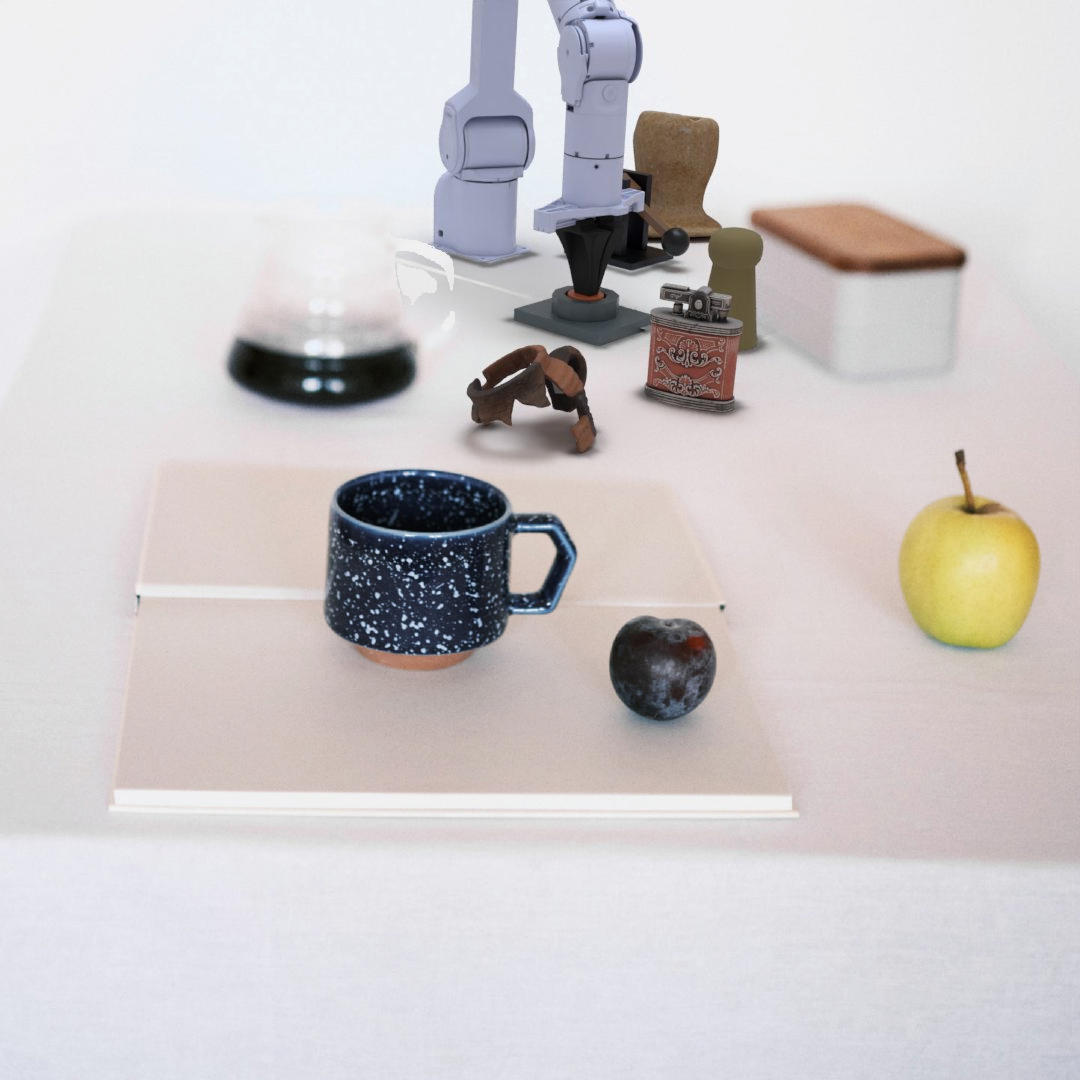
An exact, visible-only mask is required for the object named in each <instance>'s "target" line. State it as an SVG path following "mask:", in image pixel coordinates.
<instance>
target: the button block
mask: <svg viewBox="0 0 1080 1080" xmlns="http://www.w3.org/2000/svg"><path fill="white" fill-rule="evenodd" d="M573 289H574V287H573V285H566V286H562V287H559V288H558V287H557V288H555V289H554V291H553V292H552V293H551V297H549V298H546V299H542V300H539V301H536V302H533V303H529V304H525V305H522V306H518V307H515V308H514V309H513V321H516V322H518V323H522V324H526V325H529V326H532V327H535V328H538V329H542V330H546V331H548V332H552V333H554V334H558V335H561V336H565V337H568V338H570V339H574V340H578V341H580V342H584V343H587V344H591V345H593V346H597V347H600V346H603V345H606V344H609V343H612V342H615V341H618V340H621V339H624V338H625V337H629V336H632V335H635V334H638V333H641V332H644V331H646V329H644V327H648V326H650V325H651V326H652V322H651V321H650V313H648V312H644V311H641V310H637V309H634V308H631V307H626V306H623V305H620V294H619V293H617V292H616V291H615V290H613V289H610V288H606V287H602V286H600V289H599V291H601V292H603V294H604V299H601V300H595V301H584V300H575V299H572V298H568V292H569V291H570V290H573Z"/></svg>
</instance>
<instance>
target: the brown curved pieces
mask: <svg viewBox="0 0 1080 1080" xmlns="http://www.w3.org/2000/svg"><path fill="white" fill-rule="evenodd" d="M521 370H522V371H521ZM481 371H482V372H481V373H482V376H483V377H484V379H485V382H484V383H483V384H482V382H481V380H480V378H479V377H476V378H474V379H473V380H472V381H471V382H470V383H469V384H468V386H467V388H466V395H467V397H468V398H469V399H470V400H471V402H472V405H471V412H470V417H471V421H472V422H475V424H483V425H485V426H488V425H490V423H492V422H495V421H500V422H502V423H503V424H504V425H507V426H510V427H512V426H513V421H512V419H513V418H512V416H513V410H514V404H515V400H516V401H518V402H519V403H520V404H522V405H523V406H528V407H529V406H531V407H535V408H538V409H545V408H549V407H550V406H551V407H552V409H553V410H555V411H562V412H563V413H573V412H574V411H575V410H576V413H577V418H578V420H577V422H576V423H575V424H574V425H573V427H571V428H570V434H571V435H572V437H573V438H574V439H575V440H576V448H577V450H578V451H577V452H579V453H584V451H586V450H587V449H588V448H589V447H590V446H591V445H592V444H593V442H594V441H595V438H596V437H597V433H598V432H597V428H596V426H595V421H594V417H593V414H592V412H591V408H590V406H589V399H588V397H587V393H586V389H585V387H586V383H587V377H588V366H587V360H586V358H585V357H584V355H583V354H582V352H581V351H580V350H579V349H578V348H576V347H574V346H572V345H569V344H568V345H563V346H560V347H556V348H554V349H553V350H552V351H551V352H550V353H548V350H547V349H546V347H545V346H544V345H542V344H530V345H525V346H523V347H519V348H516V349H514V350H513V351H511V352H509V353H507V354H505V355H504V356H502V357H500V358H499V359H496V360H495V361H493V362H492V363H491V364H489V365H488V366H486V367H485V368H484V369H483V370H481ZM520 371H521V372H520ZM518 372H520V373H518ZM516 373H518V374H517V375H515V374H516ZM512 375H515V376H514V377H512V378H510V379H509V380H507V381H505V382H503V383H502V381H504V380H505V379H506V378H507V377H511V376H512ZM500 383H501V384H500ZM547 393H548V395H549V396H547ZM549 397H550V399H549Z"/></svg>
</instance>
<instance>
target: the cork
mask: <svg viewBox="0 0 1080 1080" xmlns="http://www.w3.org/2000/svg"><path fill="white" fill-rule="evenodd" d="M707 245H708V246H707V254H708V258H709V259H710V261H711V263H712V265H711V269H710V273H709V277H708V282H707V286H708V287H710V288H711V289H712V290H713V292H714V293H718V294H724V295H729V296H731V297H732V298H731V307H730V309H729V313H728V316H727V317H729V318H734V319H737V320H740V321H742V322H743V329H742V333H741V334H740V336H739V346H738V352H745V351H746V352H747V351H749V350H753V349H755V348H756V347H757V346H758V345H757V344H758V333H757V332H758V331H757V285H756V284H757V281H756V280H757V279H756V278H757V277H756V276H757V275H756V266H757V265H758V264H759V263H760V262H761V260H762V257H763V253H764V240H763V238H762V236H761V235H760V233H758V232H757V231H755V230H752V229H749V228H745V227H740V226H739V227H738V226H729V227H722V228H721V229H719V230H717V231H715V232H714V233H713V234H712V236H710V238H709V241H708V244H707ZM716 310H717V315H718V309H716Z"/></svg>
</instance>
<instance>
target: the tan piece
mask: <svg viewBox="0 0 1080 1080" xmlns="http://www.w3.org/2000/svg"><path fill="white" fill-rule="evenodd" d="M719 144H720V126H719V123H718V122H717V121H716V120H715V119H713V118H711V117H704V116H694V115H685V114H682V113H681V114H680V113H674V112H667V111H658V110H644V111H641V112H640V113H639V115H638V118H637V120H636V123H635V128H634V131H633V133H632V149H633V150H632V151H633V161H634V171H638V172H643V173H647V174H652V175H653V176H652V189H651V202H650V209H651V210H652V211H653V212H654V213H655V214H656V215H657V216H658V217H659V218H660V219H662V220H663V221H664V222H665V223H666V224H667V225H668V226H669V227H670V228H674V227H678V228H681V229H683V230H685V231H686V232H687V234H688V235H689V238H702V237H703V238H704V237H711V236H712V234H713V233H714V232H715V231H717V230H719V229H721V228H723V227H722V225H721V224H720V223H719V222H718V221H717V220H716V219H714V218H713V217H711V216H710V215H708V213H706V211H705V209H704V198H705V192H706V190H707V187H708V184H709V182H710V180H711V177H712V175H713V173H714V170H715V167H716V164H717V160H718V155H719V146H720V145H719ZM648 239H662V237H661V236H660V235H659V234H658V233H657V232H656V231H655V230H654V229H653V228H652V227H651V226H650V225H649V229H648Z"/></svg>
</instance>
